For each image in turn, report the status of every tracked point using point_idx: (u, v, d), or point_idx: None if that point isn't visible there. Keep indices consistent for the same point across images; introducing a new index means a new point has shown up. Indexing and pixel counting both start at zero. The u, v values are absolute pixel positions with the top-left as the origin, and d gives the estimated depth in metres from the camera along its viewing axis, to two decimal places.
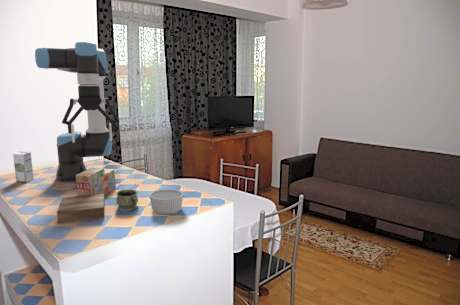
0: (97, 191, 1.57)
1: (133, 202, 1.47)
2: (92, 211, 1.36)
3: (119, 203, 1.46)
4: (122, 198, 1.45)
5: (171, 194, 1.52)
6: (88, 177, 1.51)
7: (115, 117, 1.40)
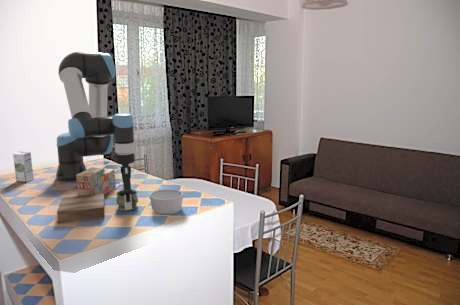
0: (97, 191, 1.58)
1: (133, 202, 1.47)
2: (92, 211, 1.36)
3: (119, 203, 1.46)
4: (122, 198, 1.45)
5: (171, 194, 1.52)
6: (88, 177, 1.51)
7: (124, 189, 1.39)
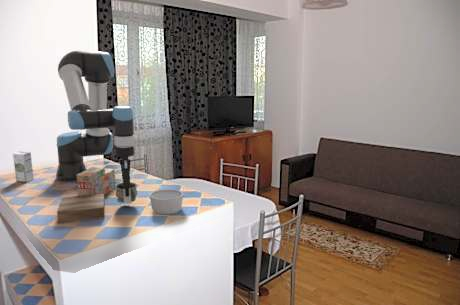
0: (97, 191, 1.58)
1: (132, 195, 1.46)
2: (92, 211, 1.36)
3: (118, 196, 1.45)
4: (121, 191, 1.45)
5: (171, 194, 1.52)
6: (89, 177, 1.51)
7: (123, 183, 1.40)
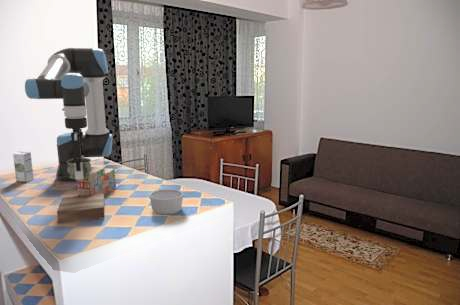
0: (97, 190, 1.58)
1: (85, 170, 1.36)
2: (92, 211, 1.36)
3: (70, 171, 1.35)
4: (73, 165, 1.35)
5: (171, 194, 1.52)
6: (89, 176, 1.52)
7: None
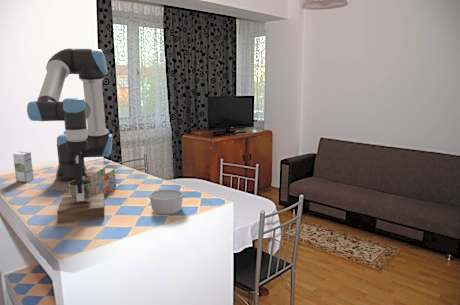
0: (98, 190, 1.58)
1: (86, 192, 1.38)
2: (92, 211, 1.36)
3: (71, 193, 1.37)
4: (74, 187, 1.36)
5: (171, 194, 1.52)
6: (89, 176, 1.52)
7: (74, 179, 1.32)
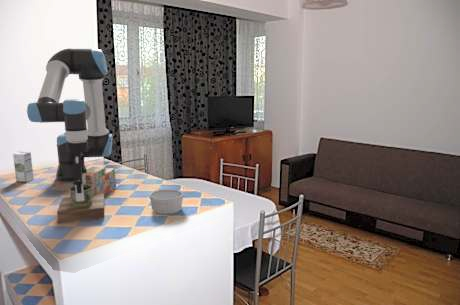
0: (98, 190, 1.59)
1: (87, 197, 1.39)
2: (92, 212, 1.36)
3: (72, 198, 1.38)
4: (75, 193, 1.37)
5: (171, 194, 1.52)
6: (90, 176, 1.52)
7: (74, 179, 1.30)
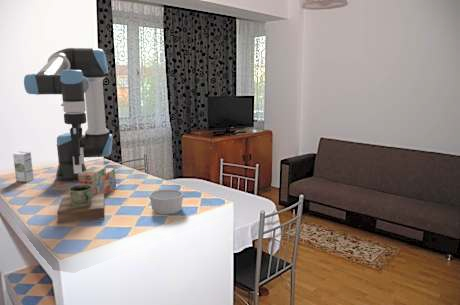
0: (99, 190, 1.59)
1: (87, 197, 1.38)
2: (92, 212, 1.36)
3: (71, 198, 1.37)
4: (74, 193, 1.37)
5: (171, 194, 1.52)
6: (91, 176, 1.52)
7: (72, 150, 1.28)
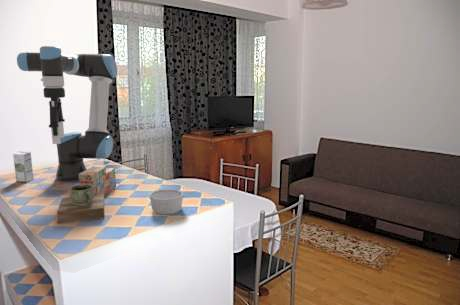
0: (99, 190, 1.59)
1: (87, 197, 1.39)
2: (92, 212, 1.36)
3: (72, 198, 1.38)
4: (75, 192, 1.37)
5: (171, 194, 1.52)
6: (91, 176, 1.53)
7: (50, 121, 1.37)
